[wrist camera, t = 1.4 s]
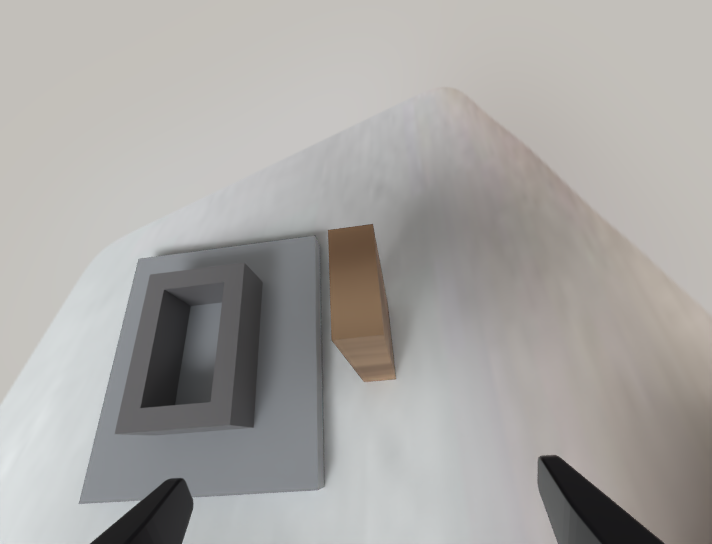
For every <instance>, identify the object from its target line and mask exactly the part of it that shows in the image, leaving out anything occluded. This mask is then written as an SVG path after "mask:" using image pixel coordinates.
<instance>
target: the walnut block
mask: <svg viewBox="0 0 712 544" xmlns="http://www.w3.org/2000/svg"><path fill="white" fill-rule="evenodd" d="M328 242H329V274H330V306H331V338H332V341H333V343H334V344H335V345H336V346H337V348H338V349H339V350H340V352H341V353H342V354H343V355H344V357H345V358H346V359H347V361H348V362H349V363H350V364H351V366H352V367H353V368H354V370H355V371H356V372H357V373H358V375H359V376H360V377H361V378H362V380H363V381H364V382H370V381H381V380H392V379H396V376H395V367H394V358H393V348H392V339H391V330H390V321H389V312H388V303H387V298H386V293H385V287H384V282H383V277H382V271H381V266H380V260H379V255H378V250H377V244H376V239H375V234H374V228H373V224H370V225H362V226H355V227H348V228H340V229H333V230H328Z"/></svg>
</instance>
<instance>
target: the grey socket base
mask: <svg viewBox="0 0 712 544" xmlns="http://www.w3.org/2000/svg"><path fill="white" fill-rule="evenodd" d="M171 478H183V479H184V480H185V481H186V483H187V486H188V488H189V491H190V493H191V496H192V497H207V496H224V495H241V494H259V493H276V492H293V491H311V490H319V489H321V488H323V487H324V447H323V392H322V338H321V283H320V245H319V243H318V241H317V239H316V236H315V235H314V236H306V237H299V238H291V239H284V240H276V241H269V242H261V243H254V244H246V245H239V246H231V247H224V248H216V249H209V250H201V251H194V252H186V253H179V254H171V255H164V256H156V257H149V258H141V259H138V263H137V267H136V271H135V275H134V279H133V284H132V288H131V292H130V296H129V300H128V304H127V308H126V312H125V316H124V320H123V325H122V329H121V333H120V337H119V341H118V345H117V349H116V353H115V357H114V361H113V366H112V370H111V374H110V378H109V382H108V386H107V390H106V394H105V398H104V403H103V407H102V411H101V415H100V419H99V423H98V427H97V431H96V435H95V439H94V444H93V448H92V452H91V456H90V460H89V464H88V468H87V472H86V476H85V480H84V485H83V489H82V493H81V497H80V501H79V504H85V503H103V502H120V501H137V500H143V499H144V498H145V497H146V496H148V495H149V494H150V493H151V492H152V491H153V490H155V489H156V488H157V487H158V486H159V485H161V484H162V483H163V482H164V481H166V480H167V479H171Z"/></svg>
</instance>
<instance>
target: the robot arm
mask: <svg viewBox="0 0 712 544" xmlns="http://www.w3.org/2000/svg"><path fill="white" fill-rule="evenodd" d="M537 481H538V488H539V492H540V495H541V498H542V500H543V503H544V506H545V509H546V512H547V514H548V517H549V520H550V523H551V525H552V528H553V531H554V534H555V537H556V539H557V542H558V544H665V543H664V542H662V541H661V540H660V539H659V538H658V537H656V536H655V535H654V534H653V533H651V532H650V531H649V530H648V529H647V528H645V527H644V526H643V525H642V524H640V523H639V522H638V521H637V520H636V519H634V518H633V517H632V516H631V515H630V514H628V513H627V512H626V511H625V510H623V509H622V508H621V507H620V506H619V505H617V504H616V503H615V502H614V501H612V500H611V499H610V498H609V497H608V496H606V495H605V494H604V493H603V492H602V491H600V490H599V489H598V488H597V487H595V486H594V485H593V484H592V483H591V482H589V481H588V480H587V479H586V478H585V477H583V476H582V475H581V474H580V473H578V472H577V471H576V470H575V469H574V468H572V467H571V466H570V465H569V464H567V463H566V462H565V461H564V460H563V459H561V458H560V457H559V456H556V455H546V456H540V457H539V458H538V479H537ZM192 510H193V498H192V496H191V493H190V491H189V488H188V486H187V483H186V481H185V480H184V479H183V478H171V479H167V480H166V481H164V482H163V483H162V484H161V485H159V486H158V487H157V488H156V489H155V490H153V491H152V492H151V493H150V494H149V495H148V496H146V497H145V498H144V499H143V500H142V501H140V502H139V503H138V504H137V505H136V506H134V507H133V508H132V509H131V510H130V511H128V512H127V513H126V514H125V515H124V516H123V517H121V518H120V519H119V520H118V521H117V522H115V523H114V524H113V525H112V526H111V527H109V528H108V529H107V530H106V531H105V532H103V533H102V534H101V535H100V536H99V537H98V538H96V539H95V540H94V541H93V542H92V543H90V544H182V542H183V539H184V536H185V532H186V529H187V526H188V523H189V520H190V517H191V514H192Z"/></svg>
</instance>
